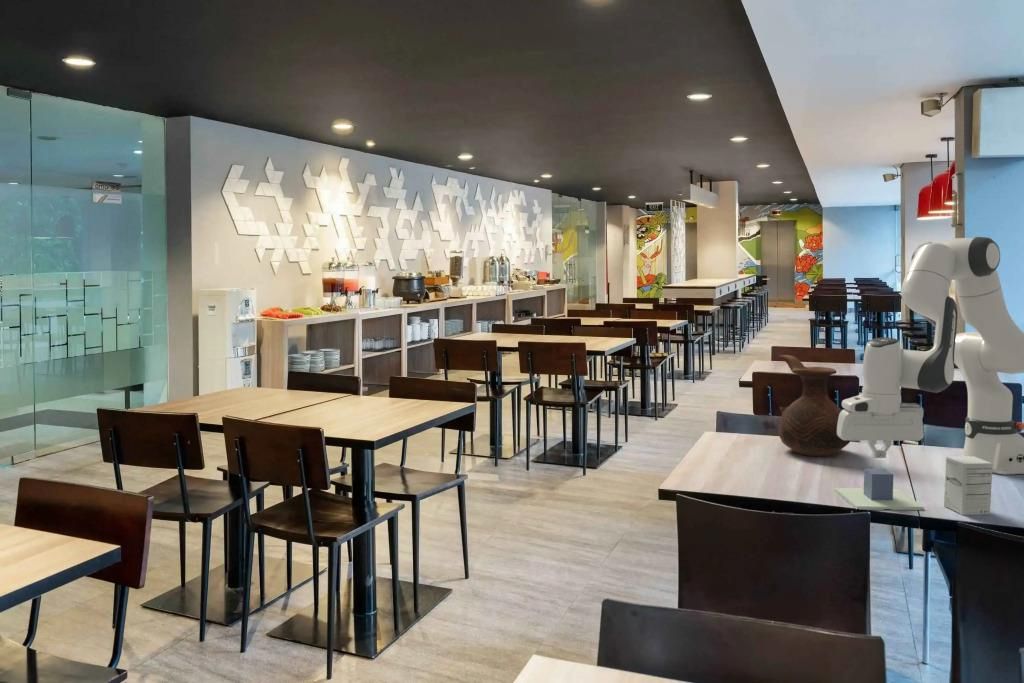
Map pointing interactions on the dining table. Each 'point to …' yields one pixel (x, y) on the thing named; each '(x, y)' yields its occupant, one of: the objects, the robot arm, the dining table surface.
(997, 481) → the dining table surface
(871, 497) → the blue-grey block
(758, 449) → the dining table surface
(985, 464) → the supplement box
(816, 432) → the jug
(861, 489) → the post board
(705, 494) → the dining table surface
